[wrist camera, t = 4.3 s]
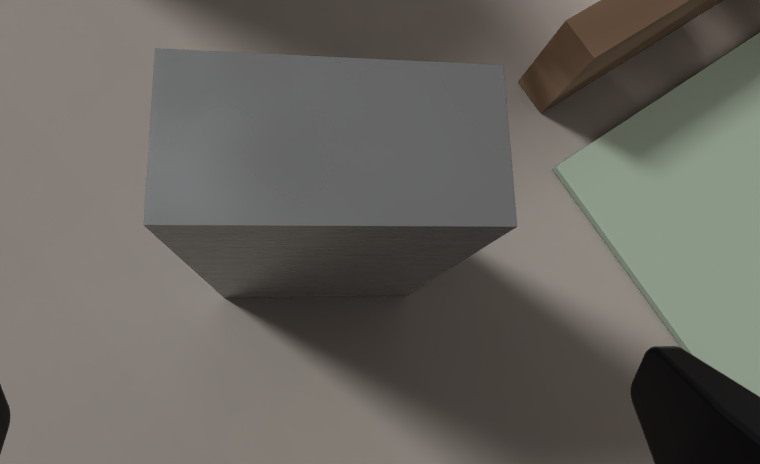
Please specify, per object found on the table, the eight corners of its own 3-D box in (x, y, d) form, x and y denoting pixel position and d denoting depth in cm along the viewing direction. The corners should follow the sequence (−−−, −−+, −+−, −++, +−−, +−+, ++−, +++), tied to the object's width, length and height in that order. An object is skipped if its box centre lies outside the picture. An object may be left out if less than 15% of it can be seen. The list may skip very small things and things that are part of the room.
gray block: (406, 295, 19) (517, 226, 10) (224, 298, 18) (143, 224, 9) (398, 104, 21) (487, -121, 11) (230, 99, 20) (168, -152, 10)
